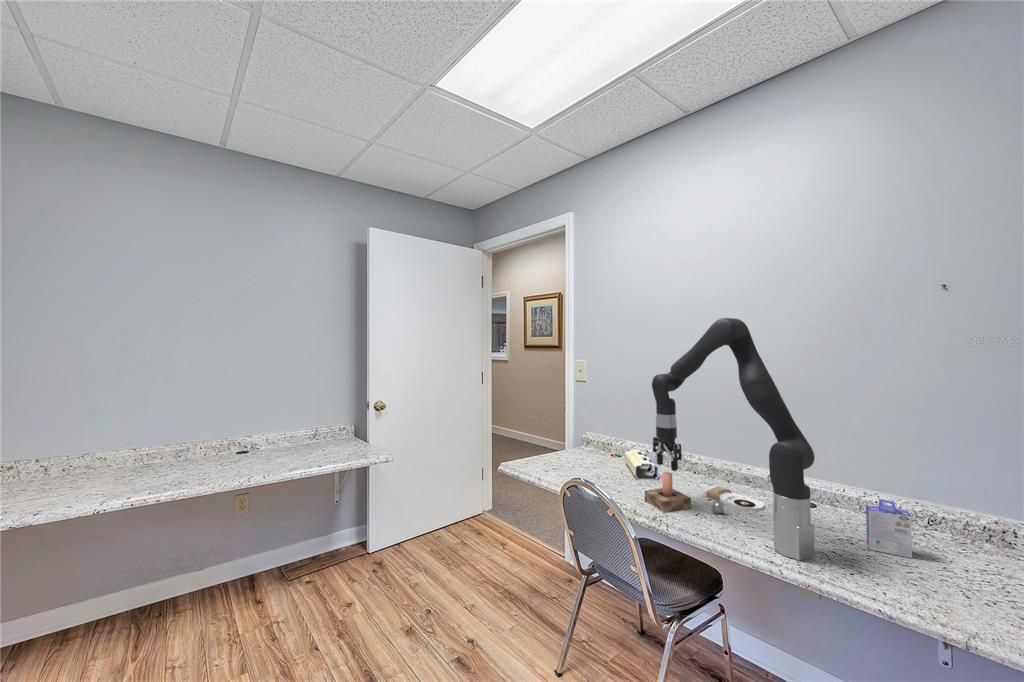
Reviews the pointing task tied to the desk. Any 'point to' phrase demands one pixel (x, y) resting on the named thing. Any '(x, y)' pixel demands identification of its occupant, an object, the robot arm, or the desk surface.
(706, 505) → the desk surface
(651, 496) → the hole block
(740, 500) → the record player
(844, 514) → the desk surface
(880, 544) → the ink cartridge box
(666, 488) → the long pin
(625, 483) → the desk surface
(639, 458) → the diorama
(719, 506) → the short pin
